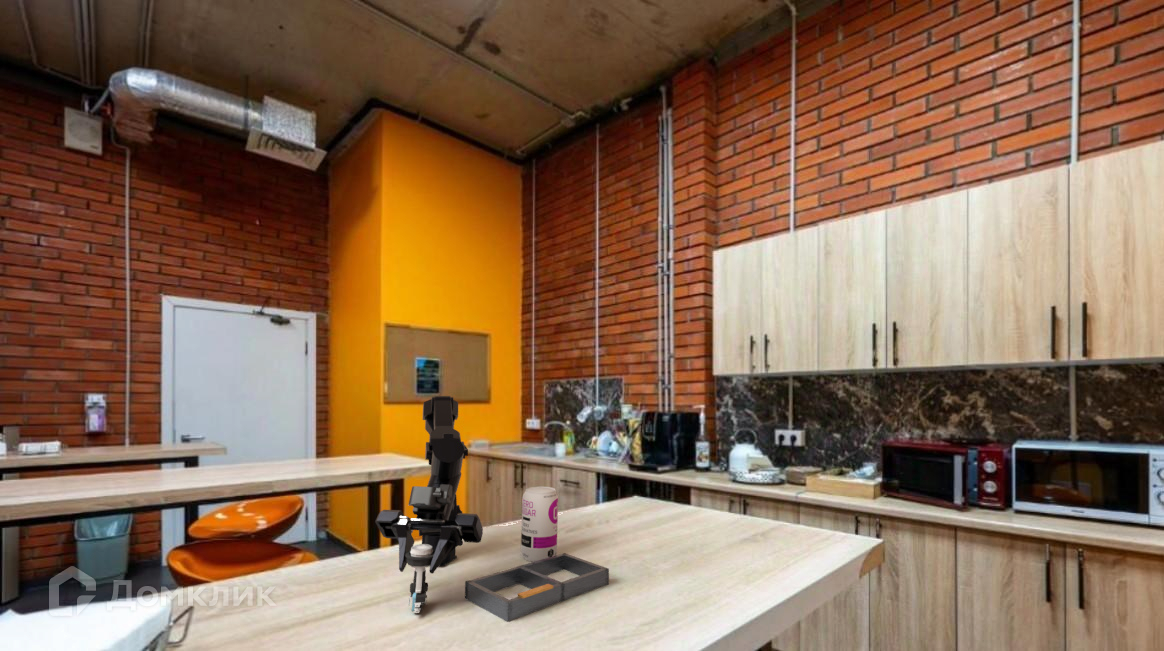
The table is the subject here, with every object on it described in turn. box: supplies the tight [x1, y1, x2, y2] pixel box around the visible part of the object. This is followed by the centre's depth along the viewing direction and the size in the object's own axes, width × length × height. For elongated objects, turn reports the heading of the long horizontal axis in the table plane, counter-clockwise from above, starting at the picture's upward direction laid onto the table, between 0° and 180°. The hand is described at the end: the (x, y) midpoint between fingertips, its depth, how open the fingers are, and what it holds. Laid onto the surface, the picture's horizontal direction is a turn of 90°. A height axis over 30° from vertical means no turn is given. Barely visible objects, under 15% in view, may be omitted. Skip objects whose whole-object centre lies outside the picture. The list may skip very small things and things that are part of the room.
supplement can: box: [520, 486, 559, 562], centre depth 126 cm, size 8×8×15 cm
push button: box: [405, 543, 435, 614], centre depth 96 cm, size 7×5×10 cm
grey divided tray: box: [464, 552, 610, 622], centre depth 105 cm, size 13×25×3 cm, turn 135°
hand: (415, 571), depth 95 cm, fingers closed on push button, 5 cm apart
